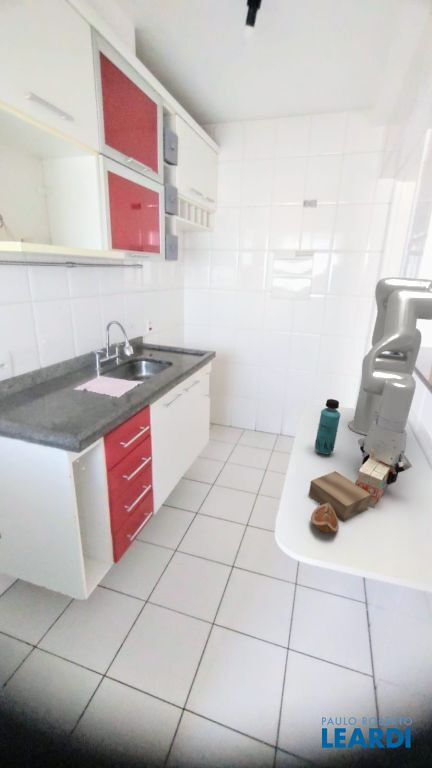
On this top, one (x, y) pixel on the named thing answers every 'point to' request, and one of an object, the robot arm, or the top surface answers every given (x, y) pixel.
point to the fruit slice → (325, 518)
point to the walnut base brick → (340, 495)
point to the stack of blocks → (373, 478)
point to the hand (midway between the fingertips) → (377, 475)
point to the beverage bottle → (328, 427)
